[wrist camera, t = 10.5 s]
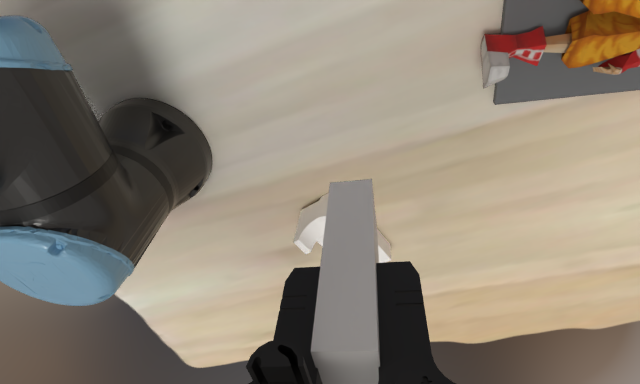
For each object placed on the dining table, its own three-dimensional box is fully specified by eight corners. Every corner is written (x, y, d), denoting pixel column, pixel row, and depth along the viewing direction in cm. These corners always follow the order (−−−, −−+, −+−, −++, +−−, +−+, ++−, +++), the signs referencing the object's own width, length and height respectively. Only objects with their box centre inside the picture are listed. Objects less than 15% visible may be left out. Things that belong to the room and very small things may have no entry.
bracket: (301, 206, 56) (293, 242, 50) (341, 184, 53) (337, 220, 47) (352, 259, 62) (350, 297, 56) (390, 242, 59) (392, 281, 52)
